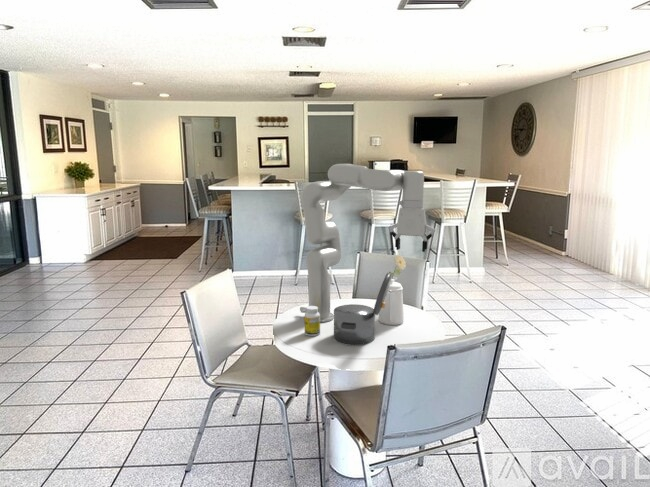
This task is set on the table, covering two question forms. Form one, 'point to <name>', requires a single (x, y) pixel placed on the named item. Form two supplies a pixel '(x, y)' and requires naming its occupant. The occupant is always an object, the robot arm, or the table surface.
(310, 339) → the table surface
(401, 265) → the flower in vase
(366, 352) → the table surface
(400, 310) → the coffeepot
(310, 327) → the pill bottle
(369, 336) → the cooker pot
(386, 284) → the cooker lid
